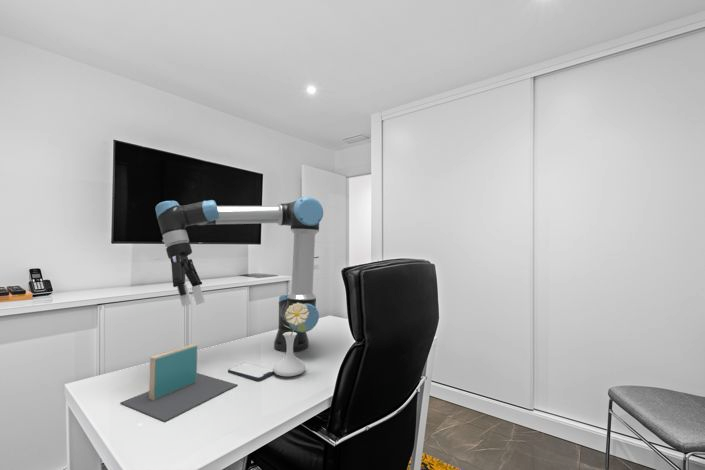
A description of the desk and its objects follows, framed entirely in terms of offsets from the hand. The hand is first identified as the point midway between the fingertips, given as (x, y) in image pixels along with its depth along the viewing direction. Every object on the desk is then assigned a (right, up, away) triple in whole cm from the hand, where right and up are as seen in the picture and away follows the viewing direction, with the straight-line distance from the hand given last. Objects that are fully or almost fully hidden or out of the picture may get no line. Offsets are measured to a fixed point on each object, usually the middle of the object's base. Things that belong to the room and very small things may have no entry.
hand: (194, 304), depth 109 cm
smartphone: (+18, -26, +5) cm, 32 cm away
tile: (-1, -24, -10) cm, 26 cm away
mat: (+2, -25, -12) cm, 27 cm away
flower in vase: (+32, -26, +5) cm, 41 cm away
